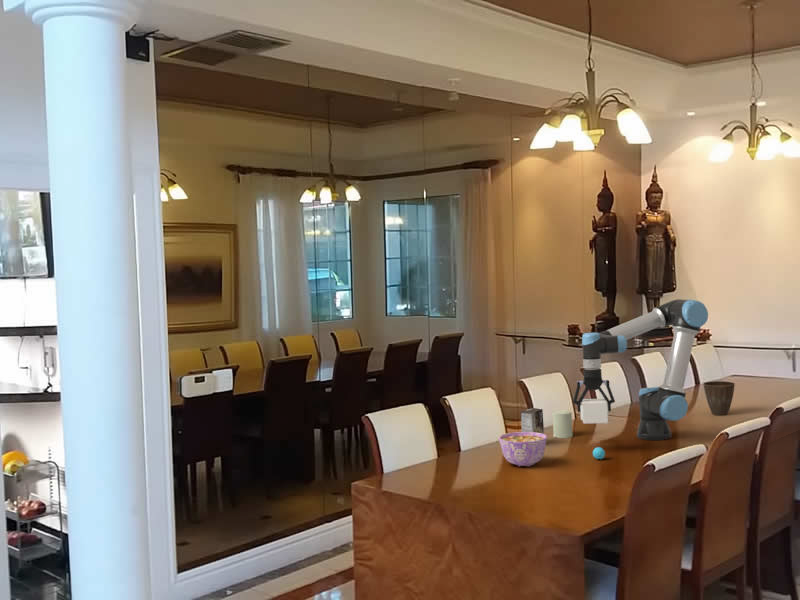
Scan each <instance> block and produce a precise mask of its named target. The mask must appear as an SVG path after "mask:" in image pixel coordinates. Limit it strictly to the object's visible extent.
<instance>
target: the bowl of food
mask: <svg viewBox="0 0 800 600" xmlns="http://www.w3.org/2000/svg"><path fill="white" fill-rule="evenodd" d="M547 439H548V436H547V435H546V434H545V433H544V434H542V433H537V432H522V431H518V432H517V431H516V432H515V431H514V432H509V433H504V434H501V435H500V436H499V437H498V442H499V445H500V447H501V452H502V455H503V457H504V458H505V460H506V461H507V462H508V463H510V464H512V465H514V464H515V465H518V466H517V467H520V466H527V467H532V466H534V465H535V464H536V463H538V462H540V461H542V459H543V457H544V454H545V449H546V445H547ZM515 465H514V466H515ZM531 465H532V466H531Z"/></svg>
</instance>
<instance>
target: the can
mask: <svg viewBox="0 0 800 600" xmlns="http://www.w3.org/2000/svg"><path fill="white" fill-rule="evenodd" d="M572 415H573V414H572V411H570V410H563V409H562V410H553V411H552V412H551V416H552V430H553V435H552V436H553V437H554V438H556V437H557V439H568V438H569V439H570V438H572V437H573V436H574V435H573V418H572V417H573V416H572Z"/></svg>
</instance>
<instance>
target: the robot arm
mask: <svg viewBox="0 0 800 600" xmlns="http://www.w3.org/2000/svg"><path fill="white" fill-rule="evenodd" d="M708 317H709V312H708V309H707V307H706V305H705V304H704V303H702V302H701V301H699V300H695V299H674V300H670V301H667V302H665V303H663V304H661V305H659V306H656V307H654V308H653V309H652V311H649V312H647V313H646V314H643V315H640V316H638V317H636V318H633V319H631V320H629V321H626V322H623V323H621V324H618V325H616V326H614V327H612V328H609V329H607V330H604V331H601V332H585V333H583V334H582V338H581V339H582V340H581V345H582V363H583V364H582V365H583V368H584V369H583V380H577V381H576V389H575V393H574V395H573V396H574V397H573V399H572V402H573V404H575V405H576V406H577V413H580V420H581V421H582V420H583V414H582V404H581V402H582V400H583V399H585V397H586V394H587V393H588V391H597V390H598V391H599V392H600V394H601V395H602V397H603V399H605V400H606V402H607V415H608V420H610V419H609V417H610V415H609V412H611V411H612V406H611V405H612V404H614V403H615V402H616V400H615V398H614V395H613V392H612V390H611V386H610V380H609V379H606V380H603V379H602V377H603V375H602V369H601V368H602V357H601V356H602V355H604V354H619V353H625V352H626V350H627V348H628V340H631V339H632V338H636V337H638V336H639V335H642V334H644V333H648V332H649V331H652V330H654V329H657V328H665V327H667V326H668V327H669V326H671V327H672V329H673V330H674V335H673V338H672V343H671V347H670V352H669V357H668V361H667V365H666V370H665V374H664V379H663V383H662V384H661V385H659V386H653V387H643V388H640V389H639V392H638V400H639V403H638V404H639V418H640V419H639V424H638V427H637V431H636V437H637V438H638V439H640V440H644V441H645V440H646V441H664V439H666V440H669V439H668V438H670V439H672V431H671V428H670V425H669V422H668V421H672V422H674V421H679V420H681V419H683V418H684V417H685V416H686V414H687V412H688V409H689V404H688V402H687V399H686V395H687V392H686V391H685V389H684V386H685V382H686V377H687V373H688V369H689V364H690V360H691V354H692V350H693V346H694V343H695V342H694V341H695V337H696V335H698V334H699V333H700V331H701V327H703V326H704V325H706V323H707V321H708ZM603 384H604V386H606V390H607V392H608V395H609V397H610V399H609V397H608V396H607V394H606V393H605V392H604V390H603V389H602V387H601V386H602V385H603ZM583 385H584V390H583V391H582V393H581V395H580V396H579V393H580V390H581V387H582V386H583ZM578 397H579V399H578Z"/></svg>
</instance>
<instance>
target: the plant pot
mask: <svg viewBox="0 0 800 600" xmlns="http://www.w3.org/2000/svg"><path fill="white" fill-rule="evenodd" d="M735 385H736V384H735V382H732V381H720V380H719V381H715V380H714V381H706V382H703V389H704V394H705V398H706V401H707V405H708V408H709V410H710V412H711V414H712V415H714V416H722V417H723V416H727V415H729V412H730V410H731V405H732V402H733V398H734V391H735V387H736V386H735Z"/></svg>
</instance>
